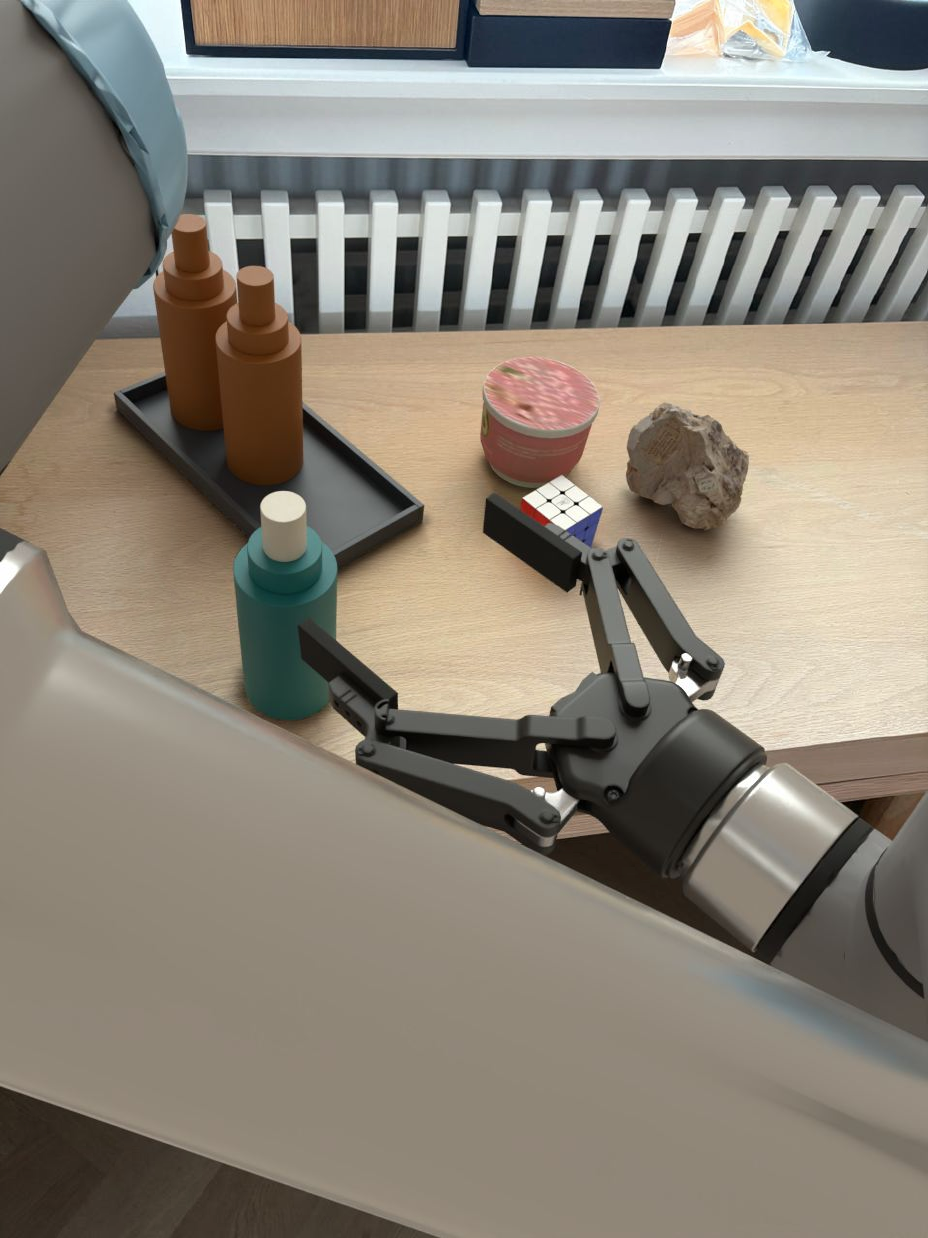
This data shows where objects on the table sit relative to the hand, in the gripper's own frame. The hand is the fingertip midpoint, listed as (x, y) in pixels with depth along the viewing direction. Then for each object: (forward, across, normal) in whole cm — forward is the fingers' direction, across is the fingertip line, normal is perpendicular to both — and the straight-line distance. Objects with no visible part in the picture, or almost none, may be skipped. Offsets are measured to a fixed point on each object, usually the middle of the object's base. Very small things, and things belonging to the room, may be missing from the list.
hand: (401, 571), depth 56 cm
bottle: (+12, 0, -22) cm, 25 cm away
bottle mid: (+33, +14, -21) cm, 41 cm away
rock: (+5, +40, -24) cm, 47 cm away
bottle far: (+42, +14, -20) cm, 49 cm away
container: (+18, +33, -23) cm, 44 cm away
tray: (+33, +14, -22) cm, 42 cm away
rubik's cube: (+9, +27, -23) cm, 37 cm away
